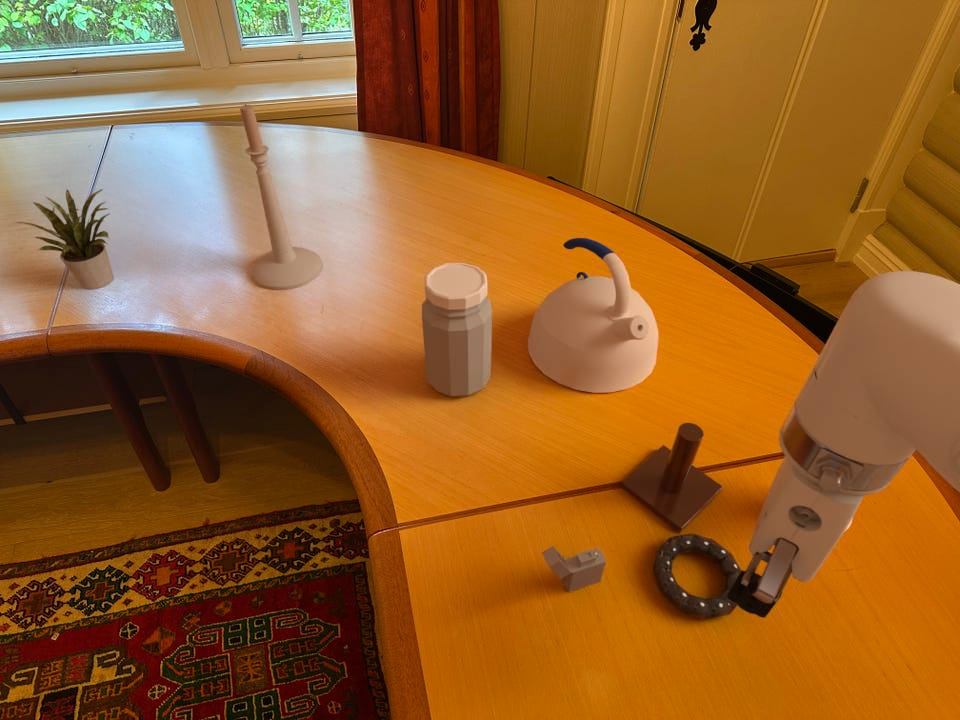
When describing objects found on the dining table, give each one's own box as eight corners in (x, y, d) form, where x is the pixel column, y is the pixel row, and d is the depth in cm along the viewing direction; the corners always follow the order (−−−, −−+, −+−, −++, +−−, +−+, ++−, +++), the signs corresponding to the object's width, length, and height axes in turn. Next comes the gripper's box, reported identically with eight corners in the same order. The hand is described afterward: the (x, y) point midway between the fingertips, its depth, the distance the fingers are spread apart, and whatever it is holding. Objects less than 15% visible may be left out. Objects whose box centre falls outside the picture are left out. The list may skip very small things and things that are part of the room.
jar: (436, 408, 86) (429, 308, 74) (418, 364, 93) (410, 265, 81) (500, 392, 89) (504, 293, 76) (478, 350, 95) (479, 253, 83)
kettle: (569, 412, 86) (584, 312, 74) (505, 327, 100) (509, 231, 87) (684, 372, 92) (716, 273, 80) (609, 297, 106) (626, 203, 94)
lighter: (594, 567, 68) (604, 528, 63) (601, 581, 67) (612, 543, 62) (536, 586, 67) (541, 548, 61) (542, 601, 65) (548, 563, 60)
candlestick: (336, 269, 112) (305, 103, 92) (276, 298, 105) (228, 127, 85) (297, 243, 119) (260, 83, 98) (238, 270, 112) (185, 104, 91)
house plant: (159, 257, 115) (125, 176, 104) (132, 300, 105) (91, 216, 94) (82, 258, 114) (40, 177, 103) (47, 303, 104) (-4, 218, 93)
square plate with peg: (721, 491, 76) (747, 434, 69) (679, 533, 72) (703, 477, 64) (661, 449, 81) (680, 391, 74) (619, 486, 77) (634, 429, 69)
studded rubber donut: (757, 581, 67) (763, 573, 66) (709, 640, 62) (714, 632, 61) (683, 525, 72) (687, 516, 71) (634, 575, 68) (637, 566, 66)
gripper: (880, 561, 35) (778, 671, 47) (919, 388, 46) (828, 513, 58) (751, 498, 39) (686, 616, 50) (815, 350, 49) (749, 476, 61)
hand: (762, 561), depth 54 cm, fingers open, 9 cm apart
